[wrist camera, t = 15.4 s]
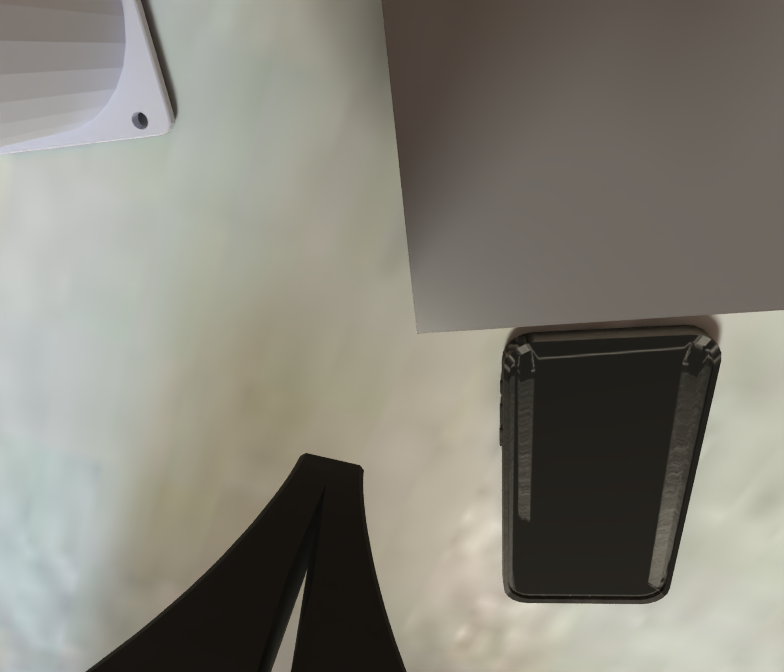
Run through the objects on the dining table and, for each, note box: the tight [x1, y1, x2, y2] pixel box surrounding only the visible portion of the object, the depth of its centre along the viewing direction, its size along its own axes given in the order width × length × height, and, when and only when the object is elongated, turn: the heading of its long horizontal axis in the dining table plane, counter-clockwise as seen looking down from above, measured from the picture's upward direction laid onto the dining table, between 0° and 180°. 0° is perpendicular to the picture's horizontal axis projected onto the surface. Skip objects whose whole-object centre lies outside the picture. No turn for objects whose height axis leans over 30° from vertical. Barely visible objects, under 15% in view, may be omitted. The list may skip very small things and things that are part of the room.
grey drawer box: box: [382, 0, 784, 334], centre depth 13 cm, size 13×13×5 cm
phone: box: [500, 325, 721, 604], centre depth 23 cm, size 8×1×15 cm
